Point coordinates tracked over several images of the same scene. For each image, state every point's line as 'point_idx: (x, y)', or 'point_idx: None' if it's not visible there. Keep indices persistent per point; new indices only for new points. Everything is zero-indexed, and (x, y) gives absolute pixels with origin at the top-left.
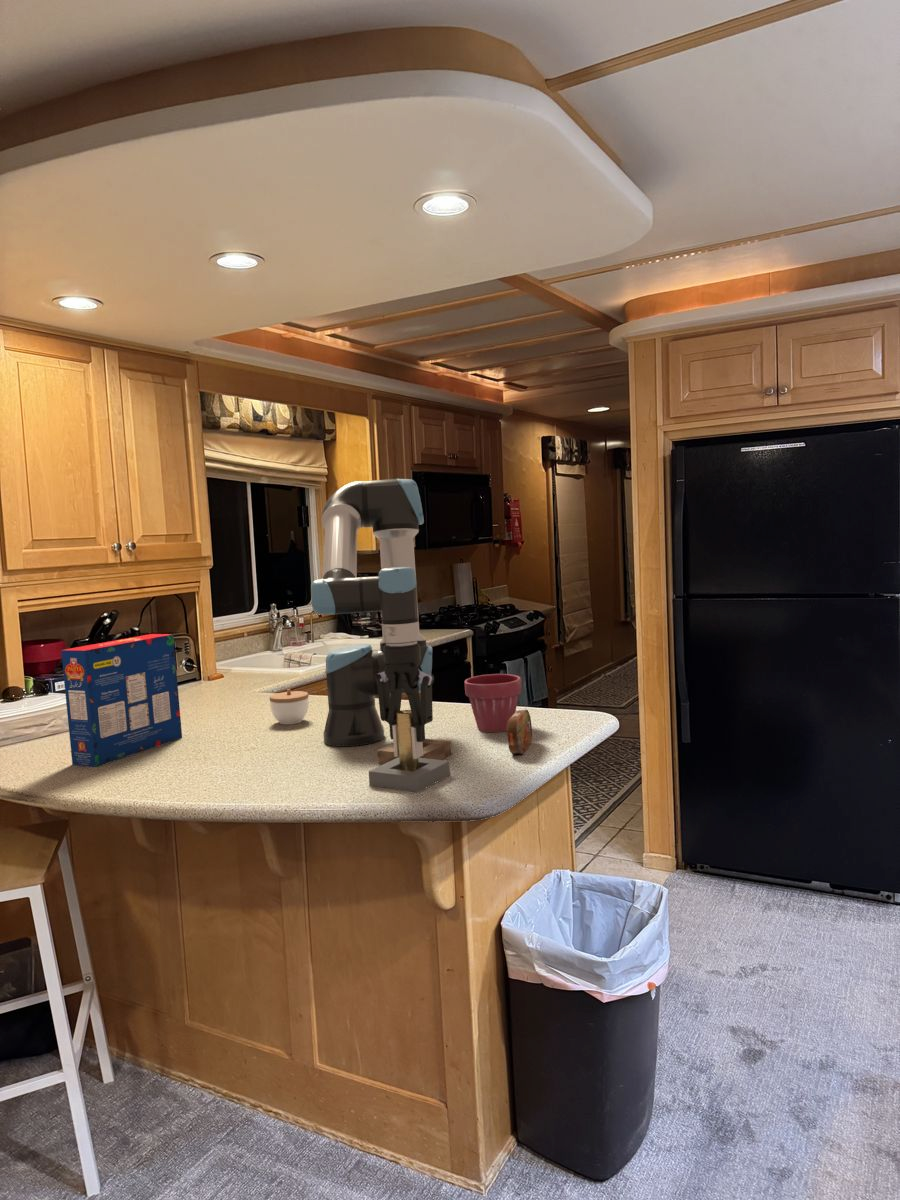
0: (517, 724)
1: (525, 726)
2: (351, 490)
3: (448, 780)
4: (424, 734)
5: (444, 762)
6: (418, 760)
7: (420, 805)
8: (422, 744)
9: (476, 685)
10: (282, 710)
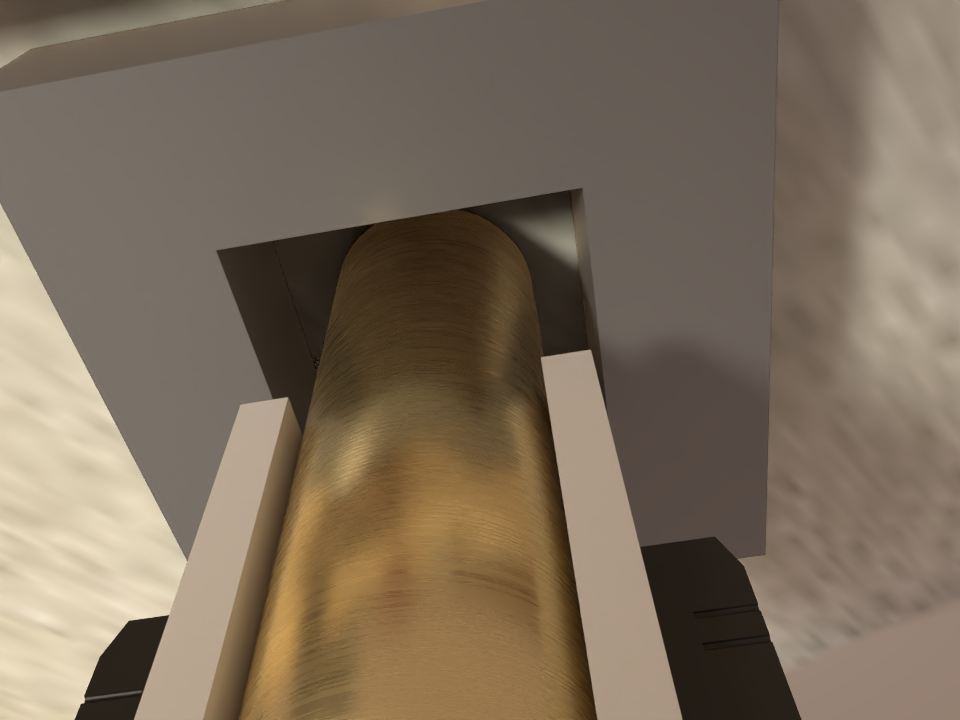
0: None
1: None
2: None
3: (807, 94)
4: (765, 632)
5: (752, 51)
6: (537, 358)
7: (893, 608)
8: (613, 448)
9: None
10: None
